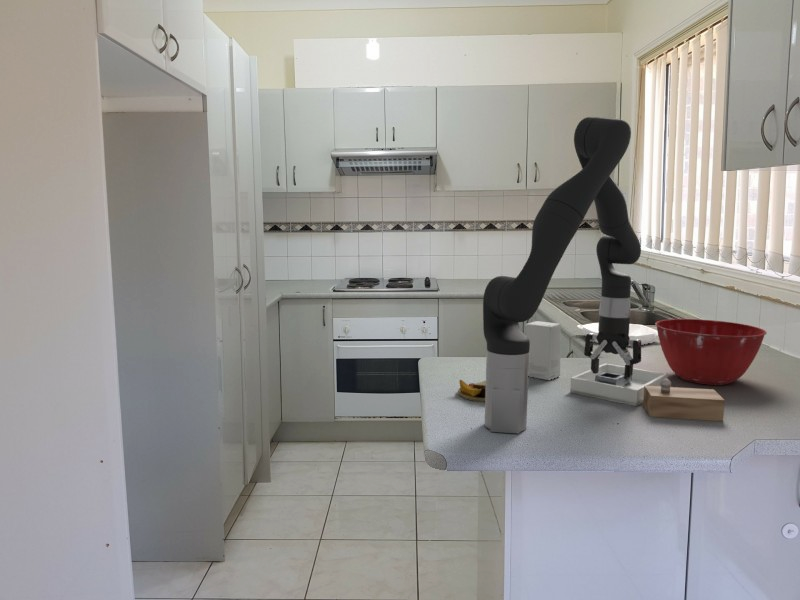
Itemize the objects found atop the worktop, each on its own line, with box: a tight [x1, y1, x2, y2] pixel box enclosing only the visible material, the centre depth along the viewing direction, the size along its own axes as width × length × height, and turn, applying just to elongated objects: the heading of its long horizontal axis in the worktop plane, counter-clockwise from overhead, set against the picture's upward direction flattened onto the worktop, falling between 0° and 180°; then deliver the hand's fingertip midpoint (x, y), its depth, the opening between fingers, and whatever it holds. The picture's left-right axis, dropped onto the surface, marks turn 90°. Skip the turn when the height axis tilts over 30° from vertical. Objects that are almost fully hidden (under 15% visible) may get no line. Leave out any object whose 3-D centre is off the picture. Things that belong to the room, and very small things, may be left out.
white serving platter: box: [576, 322, 659, 347], centre depth 243 cm, size 31×25×4 cm
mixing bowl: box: [655, 318, 767, 386], centre depth 187 cm, size 28×28×16 cm
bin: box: [569, 362, 669, 407], centre depth 175 cm, size 22×18×4 cm
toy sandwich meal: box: [457, 379, 486, 402], centre depth 169 cm, size 12×14×5 cm
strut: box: [595, 372, 632, 387], centre depth 175 cm, size 6×16×4 cm, turn 139°
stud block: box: [642, 379, 726, 422], centre depth 156 cm, size 9×16×8 cm, turn 79°
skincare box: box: [524, 320, 562, 381], centre depth 188 cm, size 8×7×16 cm
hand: (610, 375), depth 170 cm, fingers open, 8 cm apart
